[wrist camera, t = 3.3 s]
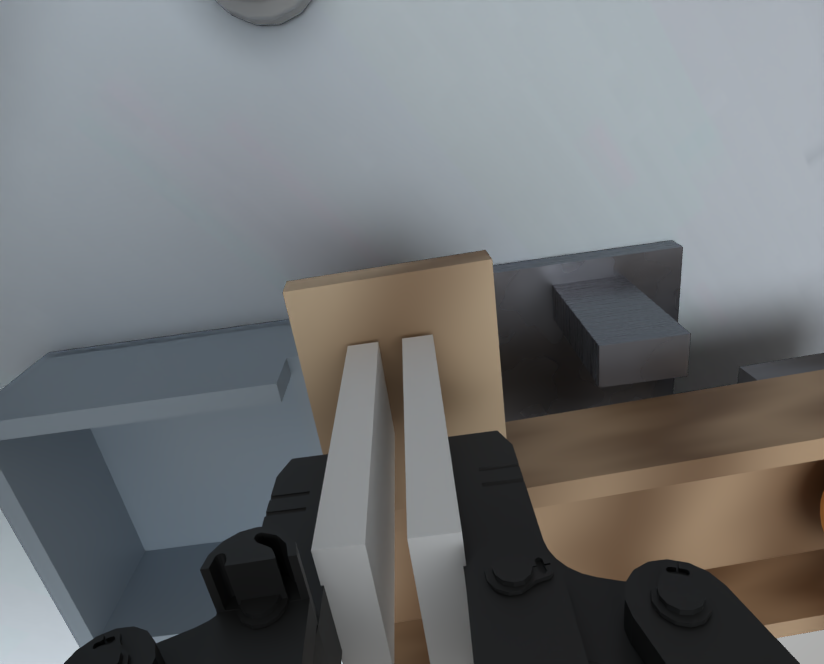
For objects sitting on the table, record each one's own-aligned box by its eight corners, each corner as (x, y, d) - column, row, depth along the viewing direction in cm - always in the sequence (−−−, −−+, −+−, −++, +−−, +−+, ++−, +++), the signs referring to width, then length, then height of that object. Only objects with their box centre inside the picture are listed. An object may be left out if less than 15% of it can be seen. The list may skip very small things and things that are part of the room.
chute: (918, 132, 19) (1158, 153, 14) (838, 485, 26) (977, 602, 20) (291, 230, 19) (261, 295, 13) (368, 566, 25) (371, 709, 20)
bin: (140, 555, 31) (85, 657, 25) (47, 352, 26) (-46, 427, 20) (366, 526, 30) (360, 624, 25) (319, 315, 25) (298, 380, 20)
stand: (510, 525, 31) (540, 642, 24) (489, 266, 25) (522, 332, 18) (656, 507, 30) (726, 620, 24) (672, 240, 24) (771, 297, 18)
